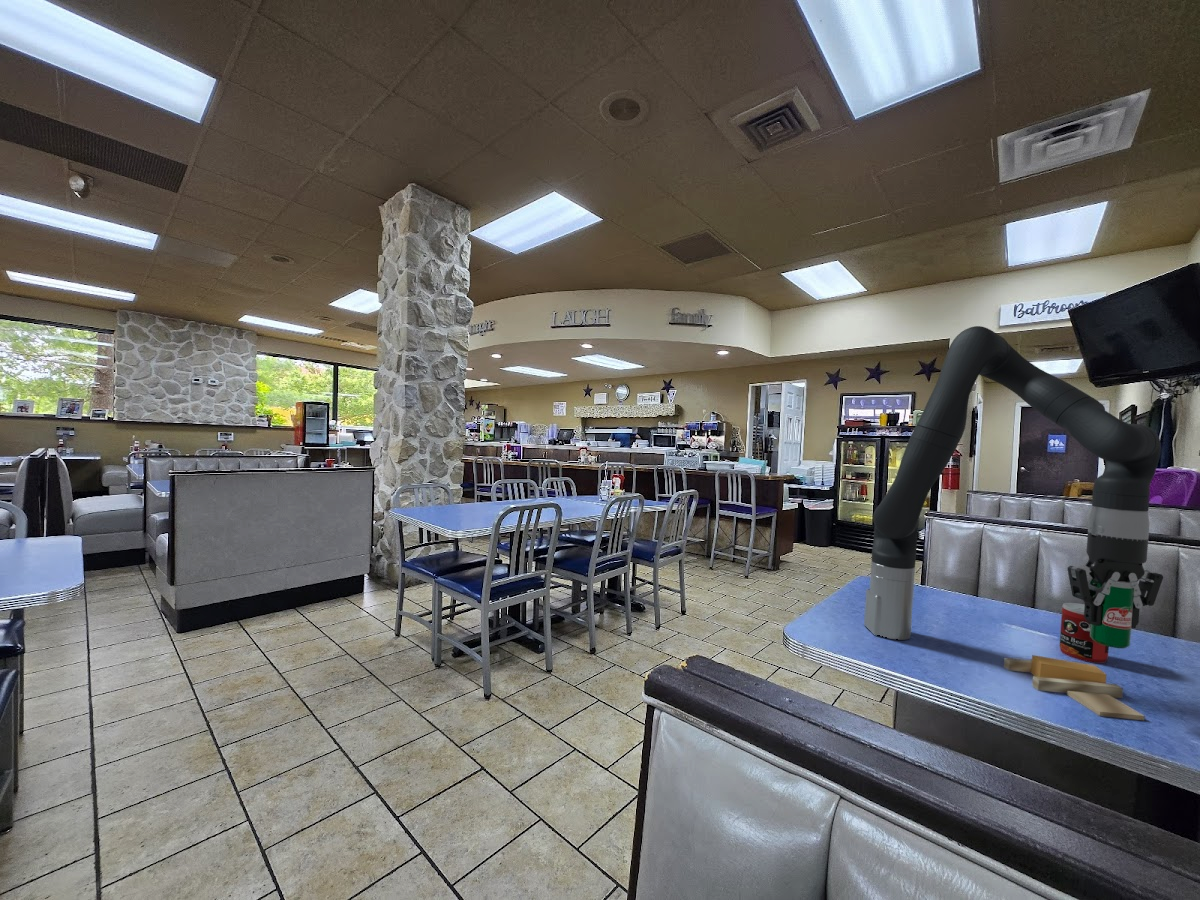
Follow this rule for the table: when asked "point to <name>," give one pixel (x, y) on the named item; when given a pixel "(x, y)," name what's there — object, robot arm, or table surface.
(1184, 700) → the table surface
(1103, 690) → the rails
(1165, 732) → the table surface
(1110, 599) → the soda can
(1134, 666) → the table surface
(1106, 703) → the coaster
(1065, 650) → the canned food
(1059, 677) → the long wooden beam
